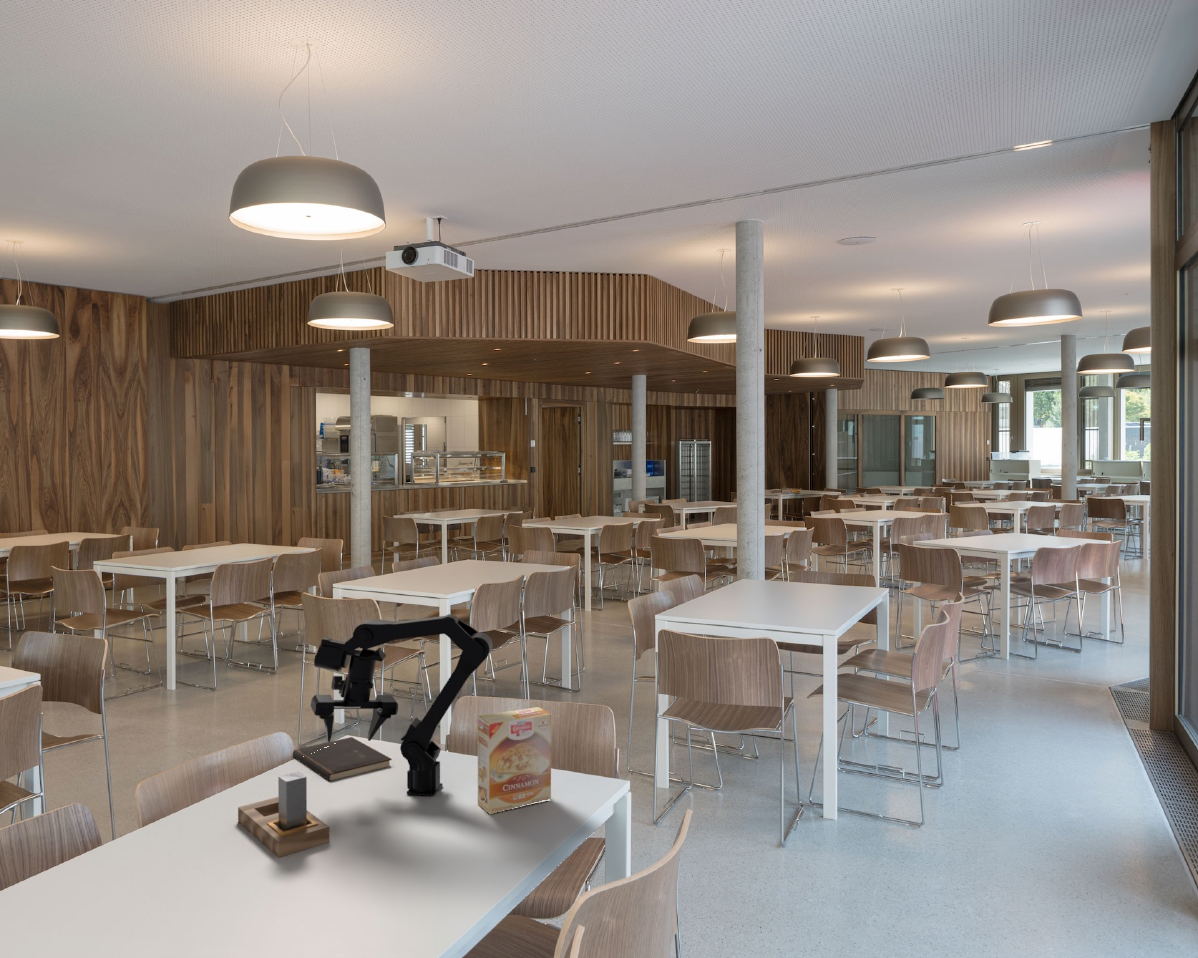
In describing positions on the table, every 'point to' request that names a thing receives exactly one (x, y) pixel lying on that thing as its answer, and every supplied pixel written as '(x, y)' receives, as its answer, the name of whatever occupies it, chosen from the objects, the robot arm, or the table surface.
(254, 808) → the wooden peg holder
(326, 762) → the hardcover book
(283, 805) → the peg
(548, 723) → the coffeecake box
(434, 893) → the table surface
